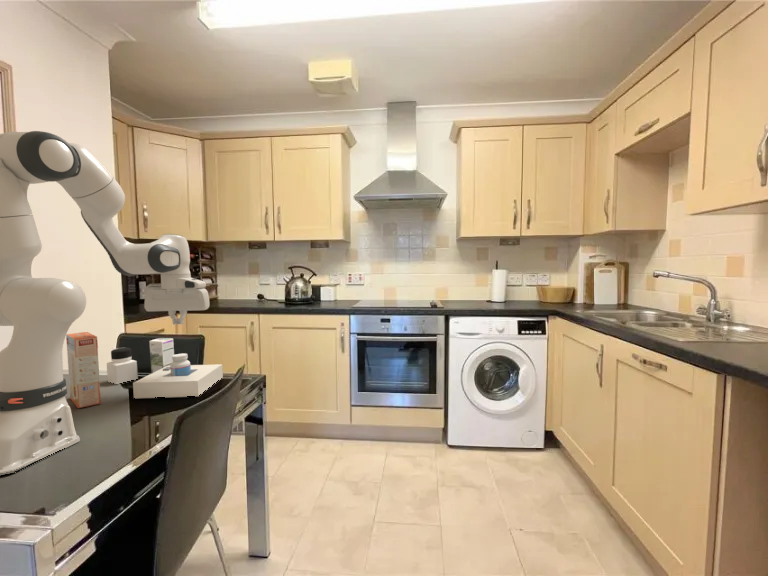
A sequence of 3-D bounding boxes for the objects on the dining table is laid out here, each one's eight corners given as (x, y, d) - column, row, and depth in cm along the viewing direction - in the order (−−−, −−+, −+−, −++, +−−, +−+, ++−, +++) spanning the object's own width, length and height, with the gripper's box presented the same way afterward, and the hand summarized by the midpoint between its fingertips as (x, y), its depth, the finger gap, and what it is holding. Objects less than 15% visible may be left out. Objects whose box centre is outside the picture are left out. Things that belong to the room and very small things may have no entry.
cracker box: (102, 403, 115) (98, 335, 113) (77, 409, 110) (72, 338, 109) (93, 393, 124) (88, 330, 123) (69, 398, 120) (64, 333, 119)
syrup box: (176, 375, 144) (174, 337, 143) (163, 380, 138) (161, 340, 137) (163, 374, 145) (161, 337, 144) (150, 379, 139) (148, 340, 139)
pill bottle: (195, 384, 132) (193, 352, 131) (184, 390, 126) (182, 357, 125) (179, 384, 132) (177, 352, 132) (167, 390, 126) (165, 357, 126)
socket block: (198, 396, 120) (197, 378, 119) (133, 398, 119) (132, 381, 118) (222, 377, 140) (222, 362, 139) (167, 379, 139) (166, 364, 138)
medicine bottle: (138, 379, 139) (136, 347, 139) (116, 385, 133) (114, 351, 132) (129, 376, 143) (127, 345, 142) (107, 382, 137) (105, 349, 136)
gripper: (139, 284, 123) (141, 326, 124) (202, 283, 124) (204, 324, 125) (150, 283, 130) (152, 323, 131) (210, 282, 131) (212, 322, 131)
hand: (178, 324), depth 128 cm, fingers closed
